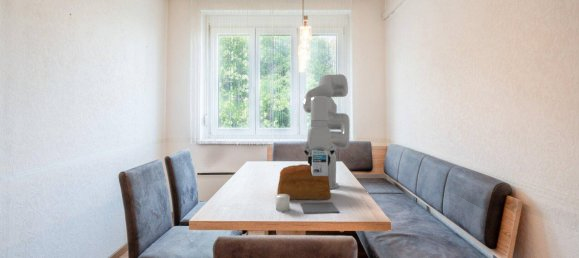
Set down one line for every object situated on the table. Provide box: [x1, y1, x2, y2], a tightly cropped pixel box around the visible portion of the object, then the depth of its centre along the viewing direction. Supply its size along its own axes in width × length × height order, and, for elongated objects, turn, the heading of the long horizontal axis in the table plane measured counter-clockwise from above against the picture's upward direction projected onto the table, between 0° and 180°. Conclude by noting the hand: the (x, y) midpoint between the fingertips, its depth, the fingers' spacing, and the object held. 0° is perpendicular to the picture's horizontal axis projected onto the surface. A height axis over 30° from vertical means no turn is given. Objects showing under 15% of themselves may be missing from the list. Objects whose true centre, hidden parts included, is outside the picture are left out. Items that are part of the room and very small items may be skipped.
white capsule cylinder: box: [275, 194, 291, 213], centre depth 119 cm, size 6×6×6 cm
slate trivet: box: [299, 201, 340, 215], centre depth 121 cm, size 12×15×1 cm
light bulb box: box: [311, 150, 328, 176], centre depth 119 cm, size 11×7×11 cm, turn 179°
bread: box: [276, 163, 332, 200], centre depth 138 cm, size 16×27×16 cm, turn 89°
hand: (319, 164), depth 119 cm, fingers closed on light bulb box, 7 cm apart
